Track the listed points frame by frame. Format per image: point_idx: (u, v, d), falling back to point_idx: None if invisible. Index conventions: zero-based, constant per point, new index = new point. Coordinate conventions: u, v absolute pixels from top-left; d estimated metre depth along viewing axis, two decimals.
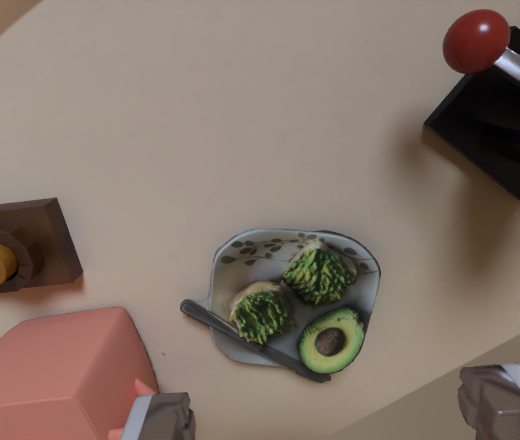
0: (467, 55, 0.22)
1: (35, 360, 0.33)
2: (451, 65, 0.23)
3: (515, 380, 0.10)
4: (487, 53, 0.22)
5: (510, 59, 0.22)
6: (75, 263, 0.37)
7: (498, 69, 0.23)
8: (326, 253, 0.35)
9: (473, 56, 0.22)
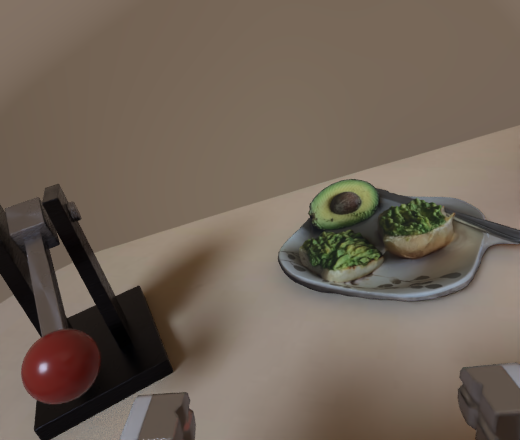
0: (74, 339, 0.19)
1: None
2: (96, 349, 0.20)
3: (515, 380, 0.10)
4: (58, 332, 0.19)
5: (49, 326, 0.20)
6: None
7: (64, 325, 0.21)
8: (323, 265, 0.31)
9: (70, 335, 0.19)
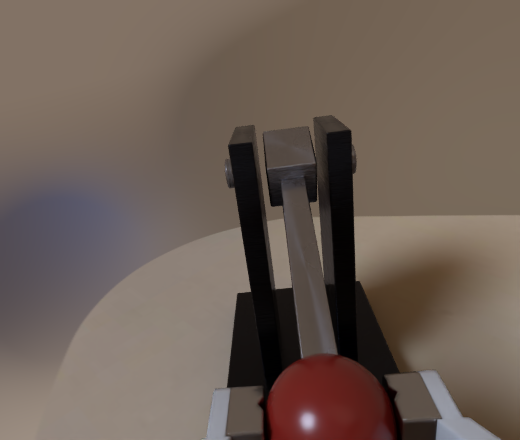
0: (374, 394, 0.10)
1: None
2: None
3: (428, 388, 0.10)
4: (342, 364, 0.10)
5: (313, 337, 0.12)
6: None
7: None
8: None
9: (366, 382, 0.10)
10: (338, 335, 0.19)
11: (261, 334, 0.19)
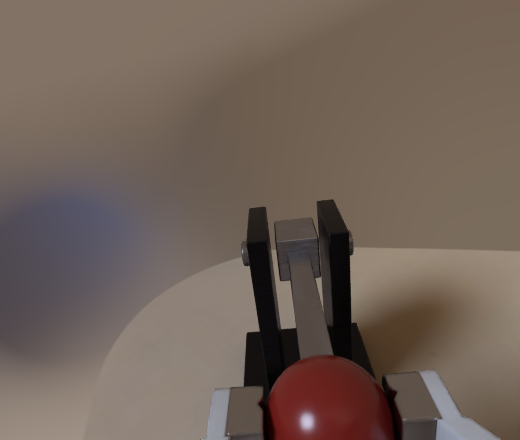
0: (365, 375, 0.10)
1: None
2: None
3: (429, 387, 0.10)
4: (337, 356, 0.11)
5: (312, 352, 0.13)
6: None
7: None
8: None
9: (358, 367, 0.11)
10: None
11: (271, 386, 0.22)
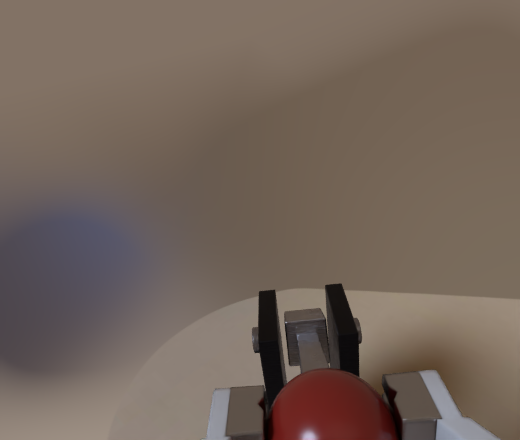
0: None
1: None
2: None
3: (429, 388, 0.10)
4: None
5: None
6: None
7: None
8: None
9: (358, 377, 0.11)
10: None
11: None
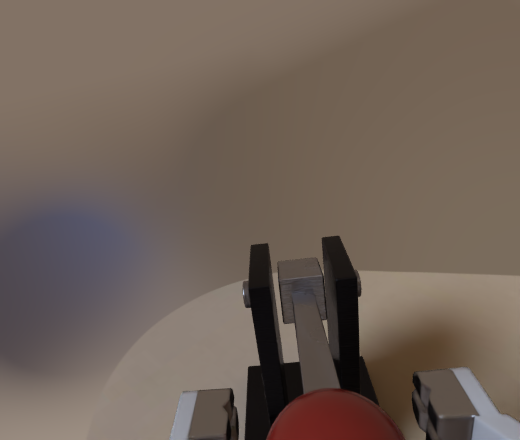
0: (379, 410, 0.09)
1: None
2: None
3: (463, 385, 0.10)
4: (346, 390, 0.10)
5: None
6: None
7: None
8: None
9: (371, 401, 0.09)
10: None
11: None
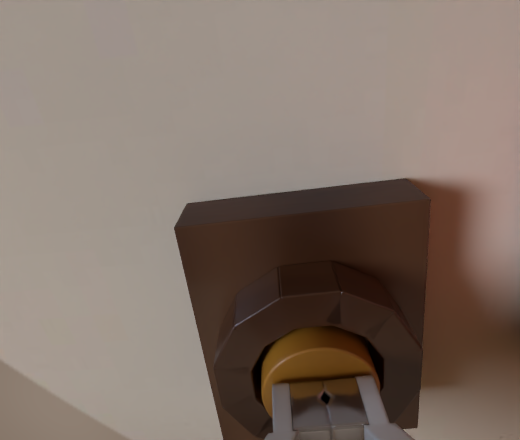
0: None
1: None
2: None
3: (362, 393, 0.10)
4: None
5: None
6: (374, 189, 0.13)
7: None
8: None
9: None
10: None
11: None
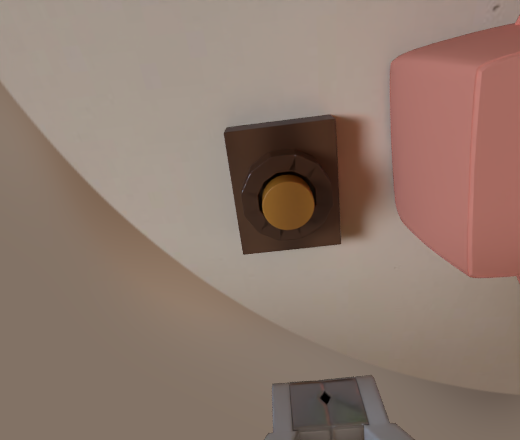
0: None
1: (426, 160, 0.22)
2: None
3: (362, 393, 0.10)
4: None
5: None
6: (314, 118, 0.28)
7: None
8: None
9: None
10: None
11: None
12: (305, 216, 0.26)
